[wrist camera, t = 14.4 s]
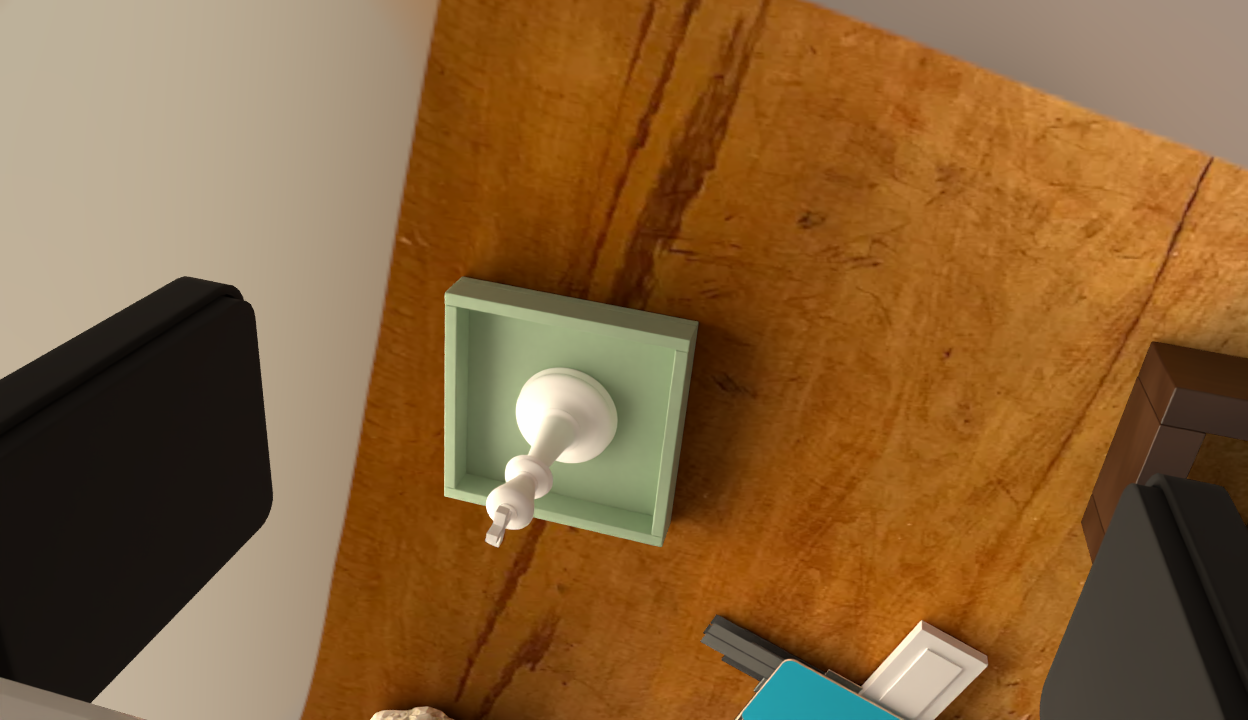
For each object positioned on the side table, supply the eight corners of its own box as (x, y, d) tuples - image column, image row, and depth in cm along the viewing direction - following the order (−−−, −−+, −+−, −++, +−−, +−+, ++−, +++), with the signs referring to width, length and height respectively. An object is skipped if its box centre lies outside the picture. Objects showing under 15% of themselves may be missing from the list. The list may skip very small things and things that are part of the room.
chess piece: (510, 436, 48) (424, 563, 39) (529, 352, 45) (441, 467, 37) (604, 471, 47) (538, 606, 39) (628, 387, 45) (563, 512, 36)
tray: (462, 275, 45) (444, 292, 43) (699, 321, 43) (690, 340, 41) (459, 474, 50) (443, 496, 49) (670, 523, 48) (661, 547, 47)
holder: (1151, 340, 38) (1175, 387, 35) (1403, 385, 37) (1454, 439, 33) (1080, 522, 43) (1096, 579, 39) (1303, 569, 41) (1340, 634, 38)
